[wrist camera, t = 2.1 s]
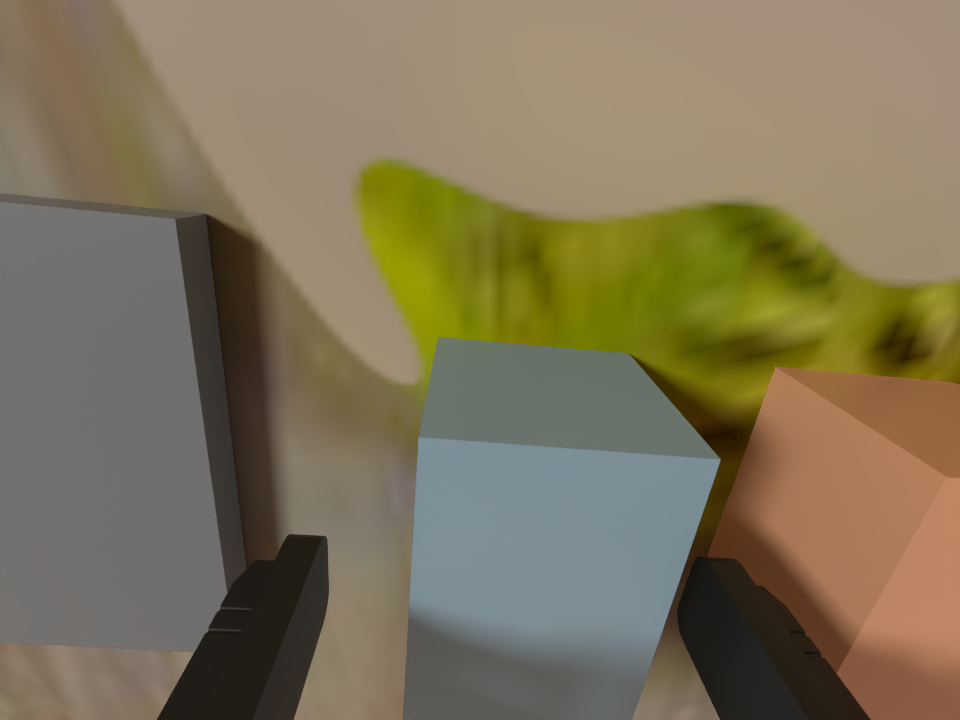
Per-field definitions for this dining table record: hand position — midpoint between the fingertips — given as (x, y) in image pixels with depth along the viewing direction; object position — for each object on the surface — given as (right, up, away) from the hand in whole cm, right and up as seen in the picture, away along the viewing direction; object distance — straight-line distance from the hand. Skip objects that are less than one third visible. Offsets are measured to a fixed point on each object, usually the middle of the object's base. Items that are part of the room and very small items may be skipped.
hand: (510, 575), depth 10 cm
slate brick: (0, +1, +4) cm, 4 cm away
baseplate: (-13, +2, +3) cm, 13 cm away
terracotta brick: (+9, +1, +4) cm, 10 cm away
